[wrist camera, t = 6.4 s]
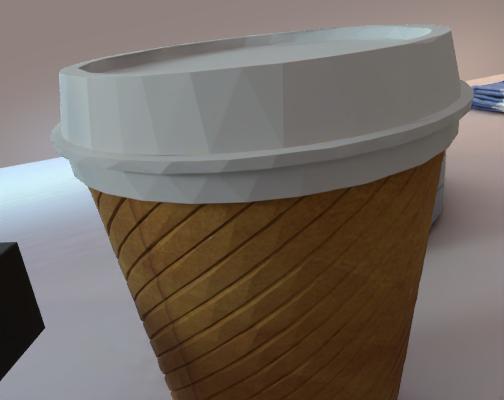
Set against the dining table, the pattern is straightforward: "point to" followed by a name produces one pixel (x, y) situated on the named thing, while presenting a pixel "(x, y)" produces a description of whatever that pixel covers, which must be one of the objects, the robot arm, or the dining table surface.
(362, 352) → the disposable coffee cup
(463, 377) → the dining table surface
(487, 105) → the dish towel
